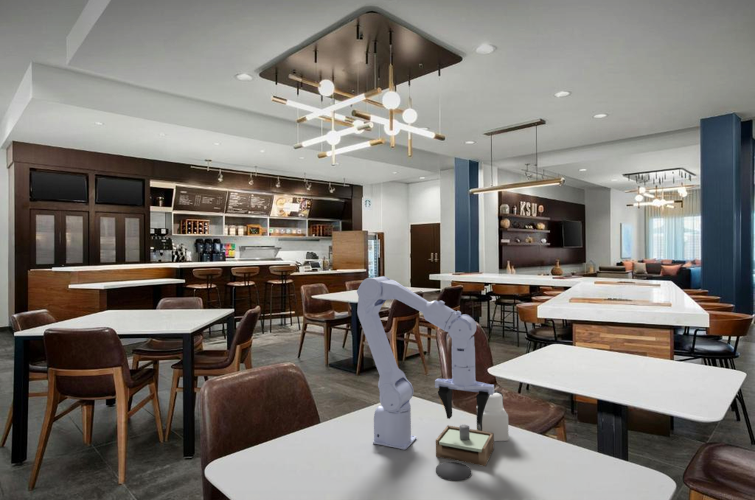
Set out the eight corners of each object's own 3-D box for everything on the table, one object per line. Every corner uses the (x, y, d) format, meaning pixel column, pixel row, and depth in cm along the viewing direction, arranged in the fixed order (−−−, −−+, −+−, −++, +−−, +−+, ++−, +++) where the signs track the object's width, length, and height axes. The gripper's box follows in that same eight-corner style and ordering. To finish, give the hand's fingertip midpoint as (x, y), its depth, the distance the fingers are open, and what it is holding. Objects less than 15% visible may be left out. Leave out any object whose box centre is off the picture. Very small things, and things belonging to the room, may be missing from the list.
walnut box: (447, 440, 117) (447, 425, 117) (493, 449, 112) (493, 432, 112) (435, 456, 108) (435, 439, 108) (485, 466, 103) (484, 448, 103)
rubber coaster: (430, 476, 99) (430, 474, 99) (441, 460, 106) (441, 459, 106) (466, 483, 95) (466, 481, 95) (475, 467, 103) (475, 465, 103)
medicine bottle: (476, 430, 124) (475, 387, 124) (502, 430, 124) (501, 387, 124) (481, 441, 117) (481, 396, 117) (509, 441, 116) (508, 395, 116)
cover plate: (449, 431, 116) (449, 417, 116) (489, 438, 111) (489, 423, 111) (439, 444, 108) (438, 429, 108) (481, 452, 104) (481, 436, 104)
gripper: (430, 365, 109) (431, 420, 109) (489, 371, 103) (490, 430, 103) (439, 359, 116) (440, 411, 116) (495, 364, 109) (496, 419, 109)
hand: (464, 419), depth 110 cm, fingers open, 7 cm apart
